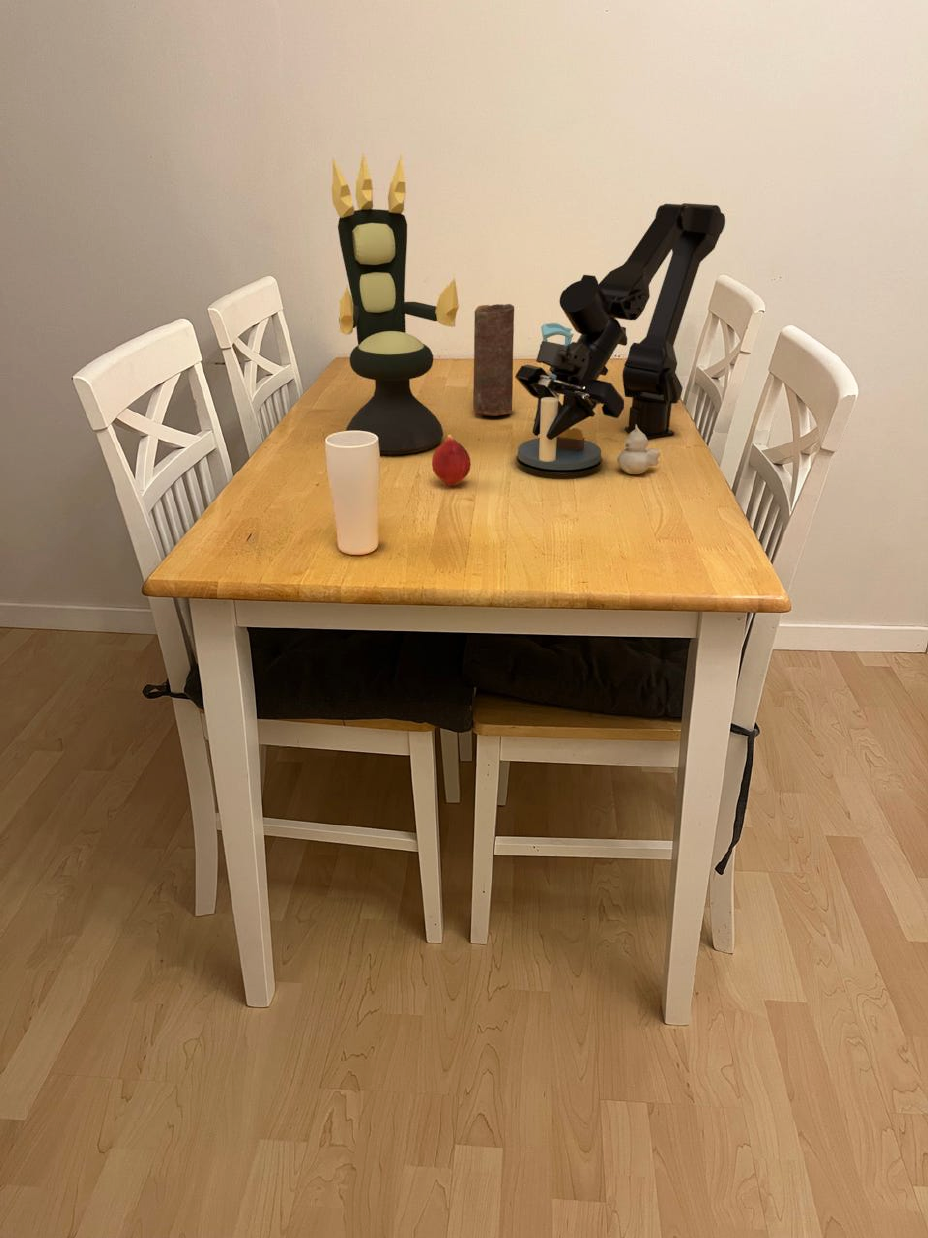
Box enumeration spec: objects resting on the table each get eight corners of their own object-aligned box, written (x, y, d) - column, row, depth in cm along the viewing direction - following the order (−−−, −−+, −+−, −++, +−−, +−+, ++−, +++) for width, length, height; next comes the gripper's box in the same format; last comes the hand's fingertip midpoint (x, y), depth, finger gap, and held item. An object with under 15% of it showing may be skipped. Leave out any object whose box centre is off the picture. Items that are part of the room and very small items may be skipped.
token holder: (536, 439, 164) (538, 376, 158) (612, 450, 158) (616, 385, 153) (504, 462, 153) (505, 396, 148) (584, 475, 148) (588, 406, 143)
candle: (508, 422, 177) (510, 309, 167) (469, 420, 178) (469, 308, 169) (515, 410, 183) (517, 302, 174) (477, 408, 185) (477, 300, 175)
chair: (576, 386, 199) (579, 327, 193) (536, 386, 199) (538, 327, 193) (573, 377, 206) (576, 319, 200) (534, 377, 206) (536, 319, 200)
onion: (475, 481, 149) (475, 431, 145) (463, 494, 144) (463, 442, 140) (440, 477, 151) (439, 428, 147) (426, 490, 146) (425, 438, 142)
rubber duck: (614, 467, 155) (617, 418, 151) (654, 466, 155) (659, 418, 151) (619, 478, 150) (623, 428, 146) (661, 478, 150) (666, 428, 146)
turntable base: (573, 446, 164) (573, 440, 164) (619, 470, 153) (619, 464, 153) (500, 457, 159) (500, 451, 159) (542, 484, 148) (543, 478, 148)
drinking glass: (333, 539, 129) (325, 430, 122) (383, 537, 130) (378, 429, 123) (331, 560, 123) (323, 447, 116) (384, 558, 124) (379, 445, 117)
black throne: (353, 465, 156) (335, 157, 135) (320, 427, 174) (299, 151, 153) (462, 451, 162) (460, 155, 141) (418, 416, 180) (411, 149, 159)
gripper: (523, 311, 150) (472, 396, 148) (615, 327, 137) (560, 419, 136) (558, 354, 158) (509, 434, 157) (647, 373, 145) (595, 460, 144)
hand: (541, 436), depth 148 cm, fingers closed on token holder, 2 cm apart
